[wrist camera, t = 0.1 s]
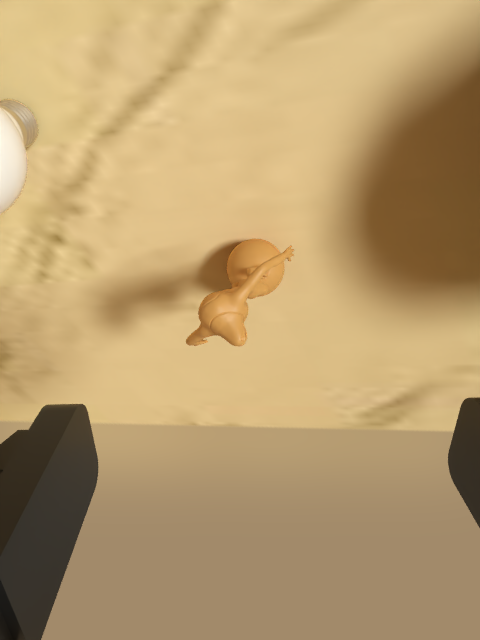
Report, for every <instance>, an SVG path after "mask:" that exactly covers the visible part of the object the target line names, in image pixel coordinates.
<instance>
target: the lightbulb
mask: <svg viewBox="0 0 480 640" xmlns="http://www.w3.org/2000/svg"><path fill="white" fill-rule="evenodd" d="M37 136H38V124H37V121H36V118H35V116H34V115H33V113H32V112H31V111H30V109H29V108H28V107H26V106H25V105H24V104H22V103H21V102H19V101H16V100H12V99H4V100H0V215H1V214H3V213H4V212H5V211H7V210H8V209H9V208H10V207H11V206H12V205H13V204H14V203H15V202H16V200H17V199H18V197H19V196H20V194H21V192H22V190H23V188H24V185H25V182H26V178H27V171H28V161H27V153H26V149H25V148H27V147H29V146H30V145H32V144H33V143H34V142H35V140H36V138H37Z"/></svg>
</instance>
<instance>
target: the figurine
mask: <svg viewBox="0 0 480 640" xmlns="http://www.w3.org/2000/svg"><path fill="white" fill-rule="evenodd" d="M291 247H292V246H290V247H288V248H287V249H286V250H285V251H284V252H283V253H282V254H281V253H280V252H279V250H278V249H277V248H276V247H275V246H274V245H273V244H271V243H270V242H268V241H265V240H262V239H250V240H246V241H244V242H242V243H240V244H239V245H237V246H236V247H235V248H234V249H233V251H232V252H231V254H230V256H229V258H228V262H227V274H228V278H229V280H230V282H231V284H232V288H231V289H225V290H222V291H218V292H214V293H211V294H209V295H208V296H206V297H205V298H204V300H203V301H202V303H201V304H200V307H199V312H198V315H199V319H200V321H201V324H200V326H199V328H198V329H197V330H195V331H194V332H193V333H192V334H191V335H190V336H189V337H188V338H187V339H186V343H187V344H188V345H194V346H197V345H199V344H204V343H207V342H208V341H207V340H203V339H204V338H205V337H209V336H213V335H218V336H221V337H222V338H224V339H225V340H226V341H228V342H229V343H230V344H232V345H234V346H242V345H244V344H245V342H246V339H247V332H246V329H245V326H244V321H245V319H246V317H247V315H248V305H247V303H246V299H247V298H249V299H253V298H255V297H259V296H264V295H267V294H269V293H270V292H272V291H273V290H275V289H276V288H277V286H278V285H279V284H280V282H281V280H282V278H283V275H284V260H285V259H286V258H287V259H288V261H291V260H290V257H291V256H294V254H292V252H293V251H294V249H292V250H291Z"/></svg>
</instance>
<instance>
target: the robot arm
mask: <svg viewBox="0 0 480 640" xmlns="http://www.w3.org/2000/svg"><path fill="white" fill-rule="evenodd" d="M448 465H449V470H450V475H451V478H452V480H453V482H454V484H455V486H456V487H457V489H458V491H459V493H460V495H461V496H462V498H463V500H464V502H465V503H466V505H467V506H468V508H469V510H470V512H471V514H472V515H473V517H474V519H475V520H476V522H477V524H478V526H479V527H480V398H467V399H465V400H464V401H463V403H462V405H461V408H460V412H459V415H458V419H457V423H456V427H455V430H454V434H453V438H452V442H451V445H450V449H449V454H448ZM97 477H98V458H97V453H96V448H95V444H94V439H93V434H92V430H91V425H90V420H89V416H88V412H87V409H86V407H85V405H83V404H60V405H46V406H44V407H43V408H42V409H41V411H40V412H39V414H38V416H37V417H36V419H35V420H34V422H33V424H32V425H31V427H30V429H29V430H17V431H16V432H15V433H14V434H13V435H11V436H10V437H9V438H8V439H6V440H5V441H4V442H3V443H2V444H0V640H41V638H42V635H43V632H44V629H45V627H46V624H47V621H48V618H49V615H50V612H51V610H52V607H53V604H54V601H55V599H56V596H57V593H58V590H59V588H60V585H61V582H62V579H63V576H64V574H65V571H66V568H67V565H68V562H69V560H70V557H71V554H72V552H73V549H74V546H75V543H76V540H77V537H78V535H79V532H80V529H81V526H82V524H83V521H84V518H85V515H86V513H87V510H88V507H89V504H90V501H91V498H92V496H93V493H94V490H95V487H96V483H97Z"/></svg>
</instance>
